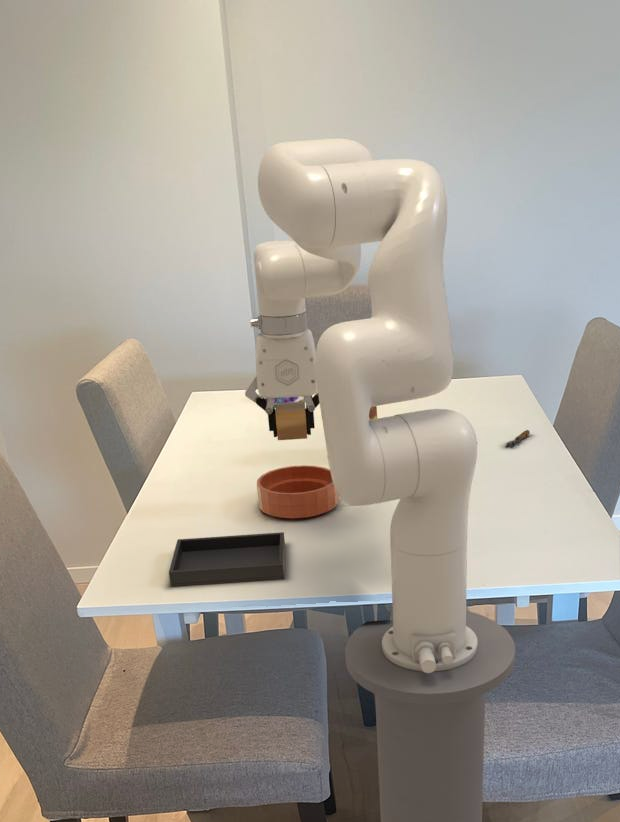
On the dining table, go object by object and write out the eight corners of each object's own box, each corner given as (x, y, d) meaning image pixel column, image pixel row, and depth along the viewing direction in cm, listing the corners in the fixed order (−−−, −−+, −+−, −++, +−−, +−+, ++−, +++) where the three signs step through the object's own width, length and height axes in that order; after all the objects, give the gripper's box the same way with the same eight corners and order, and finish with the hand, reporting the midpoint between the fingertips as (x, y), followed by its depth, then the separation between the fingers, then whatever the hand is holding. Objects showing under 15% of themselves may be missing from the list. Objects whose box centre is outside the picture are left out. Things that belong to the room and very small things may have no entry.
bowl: (340, 518, 160) (338, 491, 157) (258, 523, 160) (255, 496, 157) (337, 488, 172) (335, 463, 170) (261, 493, 172) (258, 468, 169)
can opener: (525, 434, 193) (525, 429, 193) (535, 436, 192) (535, 430, 191) (502, 446, 188) (502, 441, 187) (512, 448, 186) (512, 443, 186)
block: (307, 438, 157) (305, 409, 155) (277, 440, 157) (275, 411, 154) (306, 429, 161) (304, 401, 159) (278, 431, 161) (275, 402, 159)
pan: (284, 578, 141) (282, 564, 139) (171, 586, 140) (168, 572, 139) (285, 545, 151) (283, 532, 150) (179, 552, 151) (177, 539, 150)
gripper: (229, 332, 146) (241, 443, 156) (336, 326, 147) (343, 437, 156) (232, 322, 153) (243, 430, 162) (335, 316, 153) (341, 423, 163)
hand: (292, 432), depth 159 cm, fingers closed on block, 5 cm apart
